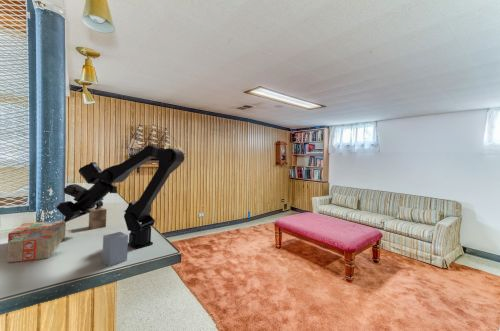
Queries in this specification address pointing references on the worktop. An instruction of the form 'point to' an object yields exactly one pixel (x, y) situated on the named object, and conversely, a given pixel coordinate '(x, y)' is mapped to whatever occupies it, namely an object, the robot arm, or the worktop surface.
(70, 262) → the worktop surface
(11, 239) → the stack of blocks
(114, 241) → the slate-blue block
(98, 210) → the walnut block
